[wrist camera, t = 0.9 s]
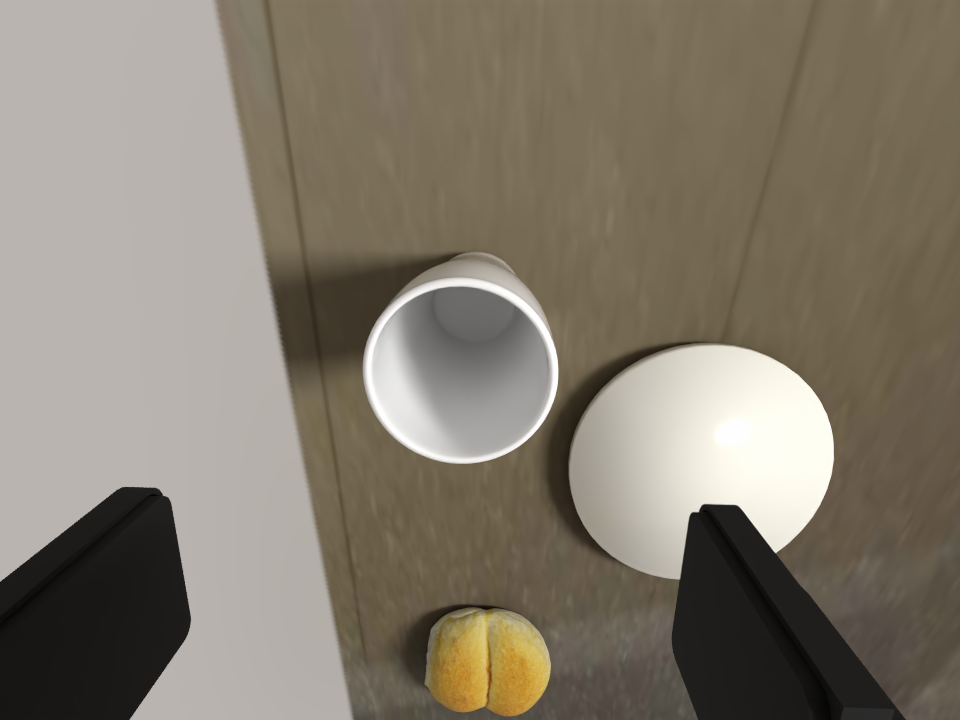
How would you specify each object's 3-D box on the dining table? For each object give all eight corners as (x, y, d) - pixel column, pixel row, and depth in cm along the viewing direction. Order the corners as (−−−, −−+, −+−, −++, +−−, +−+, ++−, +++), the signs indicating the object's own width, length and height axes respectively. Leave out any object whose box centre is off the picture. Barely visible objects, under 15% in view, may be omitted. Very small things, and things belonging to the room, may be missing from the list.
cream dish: (575, 337, 33) (578, 343, 32) (843, 342, 33) (859, 349, 31) (560, 561, 38) (562, 575, 36) (794, 568, 37) (806, 583, 36)
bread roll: (541, 696, 42) (545, 747, 38) (424, 682, 42) (416, 732, 38) (557, 607, 39) (564, 652, 36) (433, 593, 39) (426, 636, 35)
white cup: (468, 371, 34) (447, 502, 20) (396, 286, 33) (317, 360, 18) (556, 304, 33) (602, 392, 18) (485, 213, 31) (474, 230, 17)
